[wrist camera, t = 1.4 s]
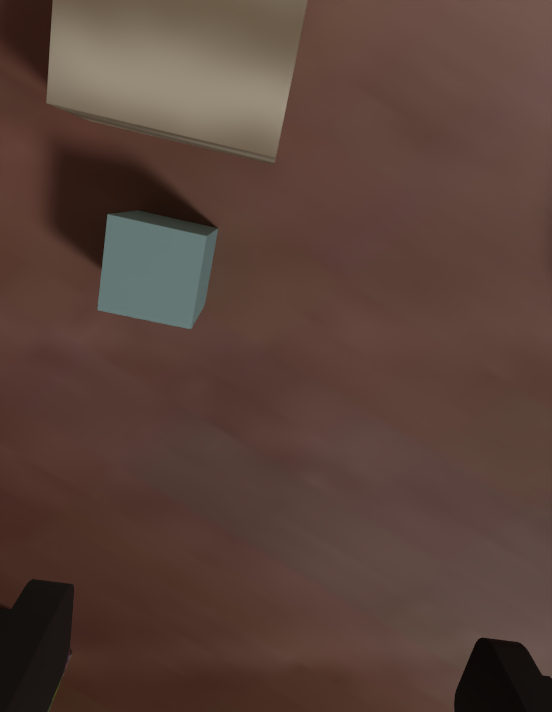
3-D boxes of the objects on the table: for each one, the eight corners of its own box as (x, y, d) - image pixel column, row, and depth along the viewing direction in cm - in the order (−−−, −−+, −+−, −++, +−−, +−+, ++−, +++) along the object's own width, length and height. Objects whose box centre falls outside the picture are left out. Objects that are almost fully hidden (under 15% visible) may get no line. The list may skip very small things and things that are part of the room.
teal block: (138, 210, 30) (107, 214, 24) (218, 228, 30) (206, 236, 24) (128, 288, 31) (97, 310, 26) (204, 304, 32) (190, 329, 26)
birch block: (111, -109, 25) (65, -198, 19) (317, -51, 26) (332, -121, 20) (90, 121, 28) (46, 103, 23) (274, 164, 29) (275, 157, 23)
